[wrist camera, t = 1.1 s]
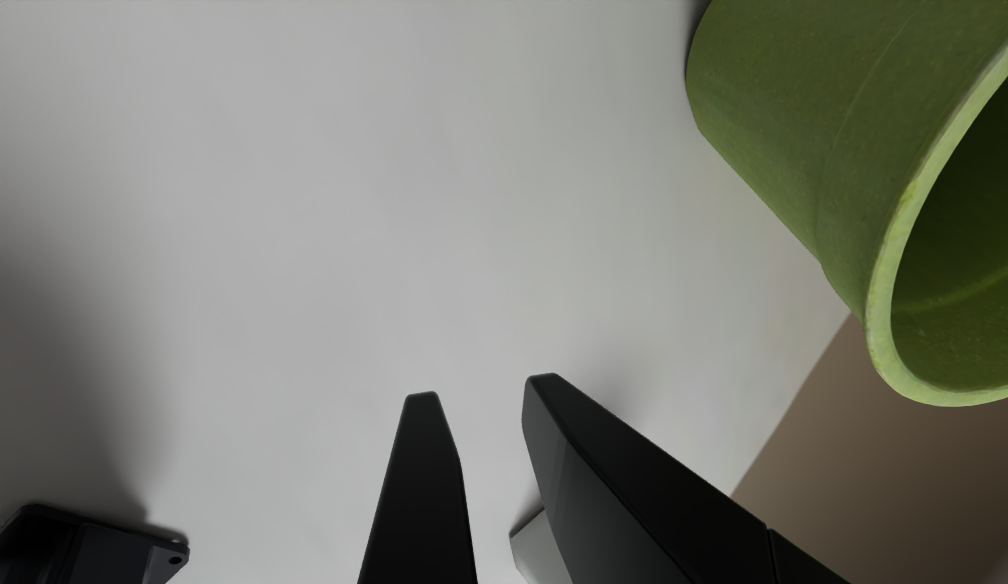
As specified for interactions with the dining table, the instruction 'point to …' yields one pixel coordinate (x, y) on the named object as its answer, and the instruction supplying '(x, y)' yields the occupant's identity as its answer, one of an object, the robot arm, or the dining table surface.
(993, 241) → the plant pot
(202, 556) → the dining table surface
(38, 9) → the dining table surface
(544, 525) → the flask
